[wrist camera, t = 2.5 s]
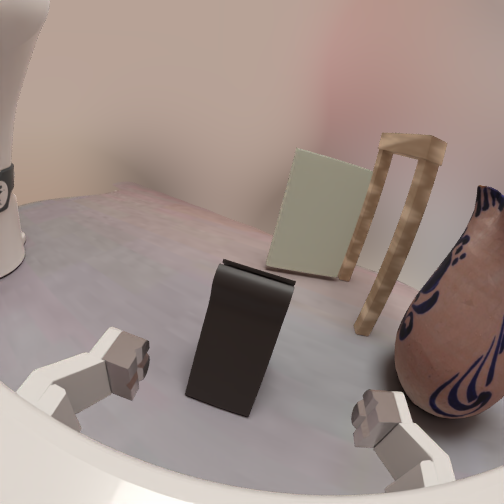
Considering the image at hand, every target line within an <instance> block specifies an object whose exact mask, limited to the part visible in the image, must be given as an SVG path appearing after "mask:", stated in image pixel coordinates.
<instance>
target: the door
mask: <svg viewBox="0 0 504 504" xmlns="http://www.w3.org/2000/svg"><path fill="white" fill-rule="evenodd" d="M372 174H373V171H370V170H368V169H365V168H362V167H359V166H356V165H353V164H349V163H346V162H343V161H340V160H337V159H333V158H330V157H327V156H323V155H320V154H316V153H312V152H309V151H305V150H302V149H298V148H296V152H295V156H294V160H293V163H292V167H291V171H290V175H289V179H288V183H287V187H286V190H285V194H284V198H283V201H282V205H281V209H280V213H279V217H278V220H277V224H276V227H275V231H274V235H273V239H272V242H271V246H270V249H269V253H268V257H267V260H266V265H267V266H269V267H275V268H281V269H287V270H293V271H299V272H305V273H311V274H317V275H323V276H329V277H335V278H337V276H338V273H339V271H340V268H341V265H342V263H343V260H344V258H345V255H346V252H347V249H348V247H349V244H350V241H351V238H352V236H353V233H354V230H355V227H356V224H357V221H358V218H359V215H360V212H361V209H362V206H363V203H364V200H365V197H366V194H367V191H368V187H369V184H370V181H371V178H372Z"/></svg>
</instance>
